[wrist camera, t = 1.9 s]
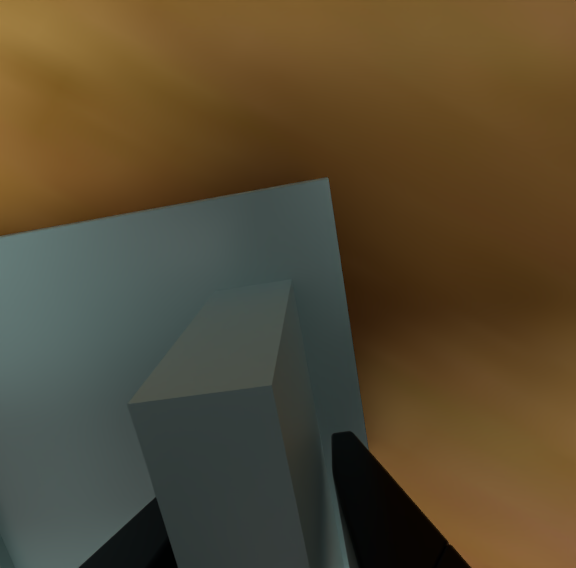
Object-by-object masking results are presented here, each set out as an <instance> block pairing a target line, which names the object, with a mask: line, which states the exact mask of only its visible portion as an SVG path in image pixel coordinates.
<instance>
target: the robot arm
mask: <svg viewBox="0 0 576 568" xmlns="http://www.w3.org/2000/svg"><path fill="white" fill-rule="evenodd" d="M331 449H332V473H333V480H334V485H335V491H336V496H337V502H338V508H339V513H340V519H341V525H342V530H343V536H344V541H345V547H346V553H347V558H348V563H349V568H471V567H470V566H469V565H468V563H467V562H466V561H465V560H464V559H463V558H462V557H461V555H460V554H459V553H458V552H457V551H456V550H455V548H454V547H453V546H452V545H449V543H448V541H447V540H446V538H445V537H444V536H443V535H442V534H441V533H440V532H439V530H438V529H437V528H436V527H435V526H434V525H433V524H432V522H431V521H430V520H429V519H428V518H427V517H426V516H425V514H424V513H423V512H422V511H421V510H420V509H419V508H418V506H417V505H416V504H415V503H414V502H413V501H412V499H411V498H410V497H409V496H408V495H407V494H406V493H405V491H404V490H403V489H402V488H401V487H400V486H399V485H398V483H397V482H396V481H395V480H394V479H393V478H392V477H391V475H390V474H389V473H388V472H387V471H386V470H385V468H384V467H383V466H382V465H381V464H380V463H379V462H378V460H377V459H376V458H375V457H374V456H373V455H372V454H371V452H370V451H369V450H368V449H367V448H366V447H365V446H364V444H363V443H362V442H361V441H360V440H359V439H358V438H357V436H356V435H355V434H354V433H353V432H351V431H345V432H337V433H333V434H332V436H331ZM78 568H178V566H177V563H176V559H175V556H174V553H173V550H172V547H171V543H170V540H169V537H168V534H167V530H166V527H165V524H164V521H163V518H162V514H161V511H160V508H159V505H158V501H157V498H156V497H155V498H154V499H153V500H152V501H150V502H149V503H148V504H147V505H146V506H145V507H144V508H143V509H142V510H141V511H140V512H138V513H137V514H136V515H135V516H134V517H133V518H132V519H131V520H130V521H129V522H128V523H126V524H125V525H124V526H123V527H122V528H121V529H120V530H119V531H118V532H117V533H116V534H114V535H113V536H112V537H111V538H110V539H109V540H108V541H107V542H106V543H105V544H104V545H102V546H101V547H100V548H99V549H98V550H97V551H96V552H95V553H94V554H93V555H92V556H90V557H89V558H88V559H87V560H86V561H85V562H84V563H83V564H82V565H81V566H80V567H78Z"/></svg>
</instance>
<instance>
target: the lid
mask: <svg viewBox="0 0 576 568" xmlns="http://www.w3.org/2000/svg"><path fill="white" fill-rule="evenodd" d="M345 431H351V432H353V433H354V434H355V435H356V436H357V438H358V439H359V440H360V441H361V442H362V443H363V444H364V446H365V447H366V448H367V449H368V442H367V435H366V429H365V422H364V415H363V408H362V402H361V395H360V388H359V382H358V375H357V368H356V361H355V355H354V348H353V341H352V334H351V328H350V321H349V314H348V307H347V301H346V294H345V287H344V280H343V274H342V267H341V260H340V253H339V247H338V240H337V233H336V226H335V220H334V213H333V206H332V199H331V193H330V186H329V179H328V178H327V177H325V178H319V179H314V180H308V181H303V182H297V183H291V184H286V185H280V186H275V187H269V188H264V189H258V190H253V191H247V192H242V193H236V194H230V195H225V196H219V197H214V198H208V199H203V200H197V201H192V202H186V203H180V204H175V205H169V206H164V207H158V208H153V209H147V210H142V211H136V212H130V213H125V214H119V215H114V216H108V217H103V218H97V219H92V220H86V221H81V222H75V223H69V224H64V225H58V226H53V227H47V228H42V229H36V230H31V231H25V232H19V233H14V234H8V235H3V236H0V568H78V567H80V566H81V565H82V564H83V563H84V562H85V561H86V560H87V559H88V558H89V557H90V556H92V555H93V554H94V553H95V552H96V551H97V550H98V549H99V548H100V547H101V546H102V545H104V544H105V543H106V542H107V541H108V540H109V539H110V538H111V537H112V536H113V535H114V534H116V533H117V532H118V531H119V530H120V529H121V528H122V527H123V526H124V525H125V524H126V523H128V522H129V521H130V520H131V519H132V518H133V517H134V516H135V515H136V514H137V513H138V512H140V511H141V510H142V509H143V508H144V507H145V506H146V505H147V504H148V503H149V502H150V501H152V500H153V499H154V498H155V497H156V498H157V501H158V505H159V508H160V511H161V514H162V518H163V521H164V524H165V527H166V530H167V534H168V537H169V540H170V543H171V547H172V550H173V553H174V556H175V559H176V563H177V566H178V568H349V563H348V558H347V553H346V547H345V541H344V536H343V530H342V525H341V519H340V513H339V508H338V502H337V496H336V491H335V485H334V480H333V473H332V449H331V436H332V434H333V433H337V432H345ZM368 450H369V449H368Z"/></svg>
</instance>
